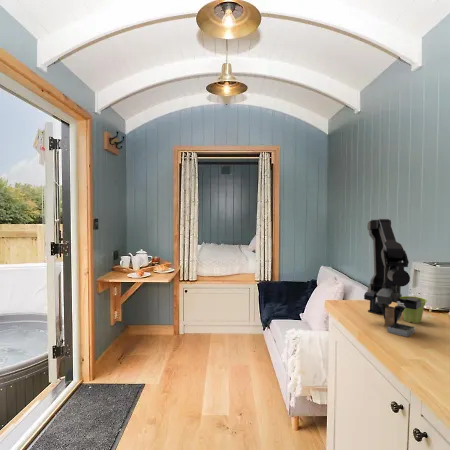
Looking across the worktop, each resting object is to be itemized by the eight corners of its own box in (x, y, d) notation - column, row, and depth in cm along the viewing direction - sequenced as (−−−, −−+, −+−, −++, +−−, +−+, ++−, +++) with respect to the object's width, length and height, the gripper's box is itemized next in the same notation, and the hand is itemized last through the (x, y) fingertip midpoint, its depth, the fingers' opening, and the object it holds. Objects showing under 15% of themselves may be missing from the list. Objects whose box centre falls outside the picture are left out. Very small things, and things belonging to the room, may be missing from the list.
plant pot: (410, 325, 134) (411, 302, 134) (393, 318, 143) (394, 296, 143) (431, 324, 136) (432, 301, 136) (413, 316, 145) (414, 295, 145)
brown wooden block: (384, 326, 133) (385, 307, 133) (388, 324, 135) (388, 306, 135) (393, 328, 131) (394, 309, 130) (396, 326, 133) (397, 307, 132)
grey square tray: (386, 332, 127) (387, 326, 126) (394, 327, 131) (394, 322, 131) (407, 337, 122) (407, 331, 122) (414, 332, 126) (414, 327, 126)
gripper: (357, 279, 133) (356, 320, 134) (411, 288, 120) (409, 334, 121) (371, 275, 141) (369, 314, 142) (422, 283, 127) (421, 326, 128)
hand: (390, 322), depth 133 cm, fingers closed on brown wooden block, 3 cm apart
